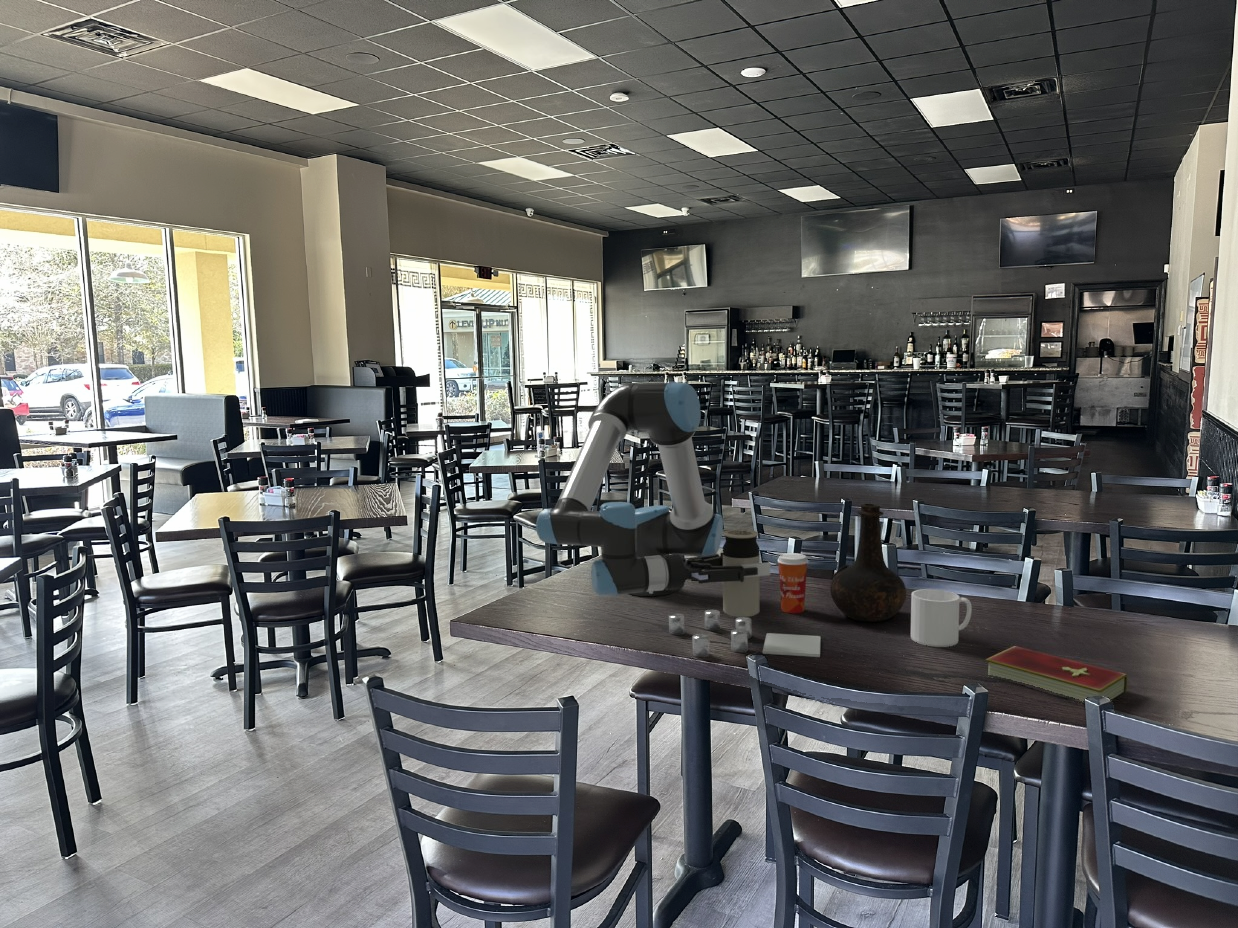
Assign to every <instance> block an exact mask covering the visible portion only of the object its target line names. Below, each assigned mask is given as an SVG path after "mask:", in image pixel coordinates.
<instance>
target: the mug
mask: <svg viewBox="0 0 1238 928" xmlns="http://www.w3.org/2000/svg"><path fill="white" fill-rule="evenodd" d="M910 595H911V603H910V604H911V605H910V608H911V609H910V639H911V640H912V641H913V642H914V643H916V642H917V644H920V645H921V646H926V645H927V646H926V647H931V648H933V647H934V648H949V646H950V647H953V645H954V646H956V645H957V644H959V631H962V630H963V629H966V627H967V626H968V625H969V623H970V621H971V618H972V603H971V601H970V600H969V599H968V598H967V597H960V595H959V594H958V593H955V592H952V591H949V590H944V589H936V588H935V589H934V588H924V589H923V588H922V589H917V590H914V591H912V592H911V594H910ZM960 603H965V605H966V615H965V618H964V620H963V622H962V623H961V624H960V623H959V621H960Z"/></svg>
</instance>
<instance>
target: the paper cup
mask: <svg viewBox="0 0 1238 928" xmlns="http://www.w3.org/2000/svg"><path fill="white" fill-rule="evenodd" d="M777 563H778V576H779V591H780V593H779V594H780V607H781V611H782V612H784V613H785V614H786V613H787V614H801V613H803V612H804V610H805V603H806V589H807V588H806V585H807V570H808V569H807V568H808V564H809V563H810V561H809V560H808V557H807V555H805V554H802V553H798V552H797V553H795V552H794V553H793V552H791V553H790V552H788V553H782V554H780V555H779V556H778V559H777Z"/></svg>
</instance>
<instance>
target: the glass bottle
mask: <svg viewBox="0 0 1238 928" xmlns="http://www.w3.org/2000/svg"><path fill="white" fill-rule="evenodd" d="M859 507H860V510H857V511H856V513H857V514H858V515H860V528H859V535H858V537H859V538H858V546H857V553H856V556H855V561H854V563H853V564H852V565H849V566H848V565H847V564H844V565H843V566H842V567H840V568H838V570H836V572H834V573H833V574H832V576H831V577H832V579H831V582H830V589H829V590H830V596H831V598H832V600H833V603H834V604H835V606H836V607H837V608H838V610H839V611H840V612H842V613H843V614H844V615H845V616H847V617H848V618H850V619H853V620H856V621H858V622H869V623H872V622H874V623H875V622H883V621H885V620H888V619H890V618H892V617H894V616H895V615H896V614H897V613H899V611H900V610H901V609H902V608H903V606H904V604H905V602H906V599H907V587H906V585H905V582H904V581H903V579H902V577H900V575H899V574H897V573H896V572H895V571H893V570H891V569H890V568H889V567H888V566H887V565H886V562H885V559H884V554H883V547H882V535H881V521H880V519H881V518H880V516H883V515H884V514H885V513H884V511H880V510H881V509H880V508H881V505H878V504H875V503H863V504H860V506H859Z"/></svg>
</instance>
